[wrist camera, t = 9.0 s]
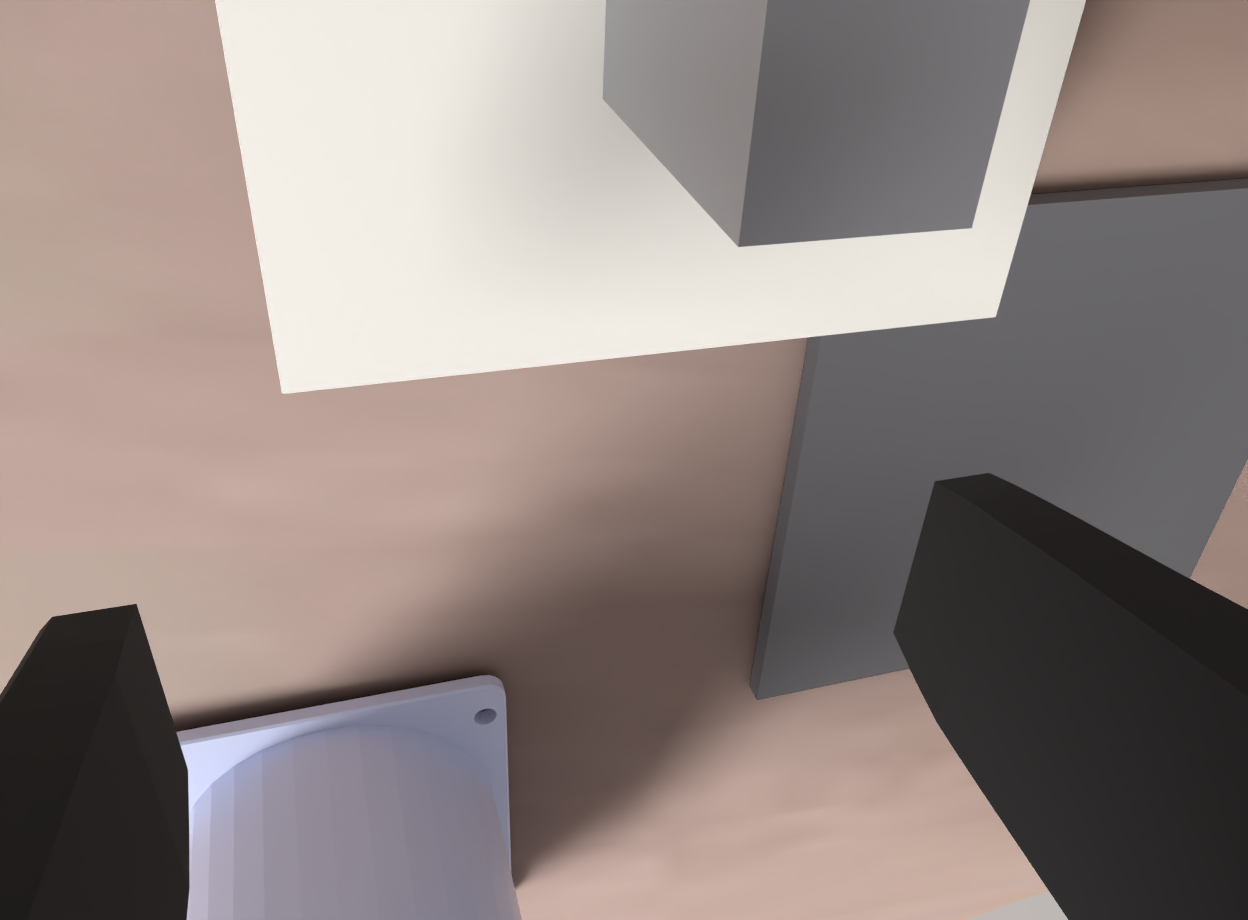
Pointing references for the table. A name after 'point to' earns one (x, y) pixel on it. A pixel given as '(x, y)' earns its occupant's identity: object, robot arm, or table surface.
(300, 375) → the lid
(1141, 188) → the mat
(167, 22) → the table surface
